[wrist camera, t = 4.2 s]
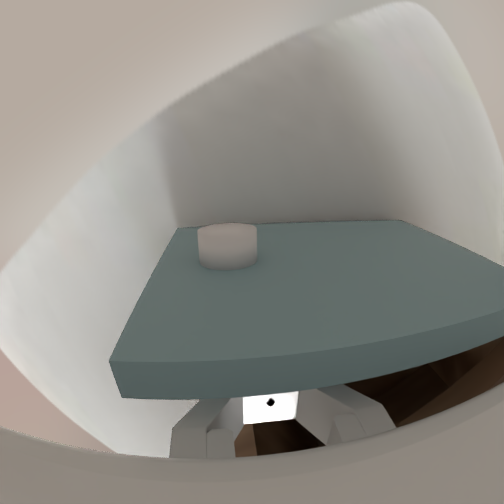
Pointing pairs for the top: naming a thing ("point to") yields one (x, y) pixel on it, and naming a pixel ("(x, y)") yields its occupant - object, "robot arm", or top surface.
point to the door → (302, 308)
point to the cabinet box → (393, 398)
